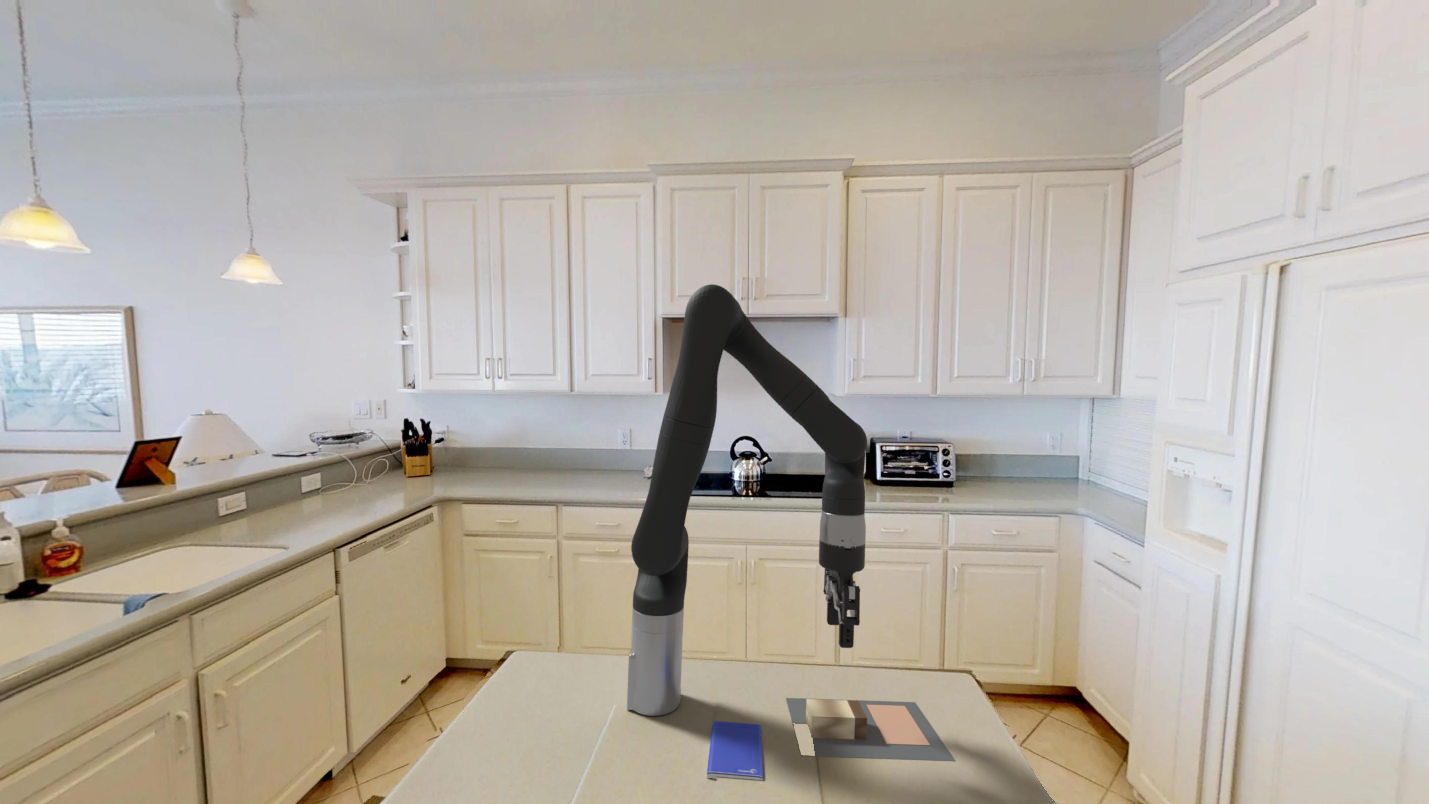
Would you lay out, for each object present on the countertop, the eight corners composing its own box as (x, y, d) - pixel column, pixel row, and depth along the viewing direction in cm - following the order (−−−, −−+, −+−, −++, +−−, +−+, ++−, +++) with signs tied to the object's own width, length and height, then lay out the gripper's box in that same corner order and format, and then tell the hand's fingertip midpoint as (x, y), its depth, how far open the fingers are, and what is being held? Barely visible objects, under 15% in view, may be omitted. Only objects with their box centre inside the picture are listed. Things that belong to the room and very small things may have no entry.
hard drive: (763, 776, 76) (761, 724, 88) (706, 771, 76) (712, 720, 88) (763, 787, 76) (760, 733, 88) (706, 782, 76) (712, 729, 88)
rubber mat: (800, 758, 81) (800, 755, 81) (785, 700, 97) (785, 697, 97) (955, 763, 81) (955, 760, 81) (915, 704, 97) (915, 701, 97)
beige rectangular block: (811, 737, 86) (812, 716, 86) (805, 719, 91) (806, 699, 91) (866, 739, 86) (867, 718, 86) (857, 721, 91) (858, 700, 91)
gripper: (811, 528, 95) (808, 617, 95) (829, 549, 81) (826, 654, 81) (852, 529, 96) (850, 618, 95) (878, 551, 81) (875, 656, 81)
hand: (839, 635), depth 88 cm, fingers open, 8 cm apart
